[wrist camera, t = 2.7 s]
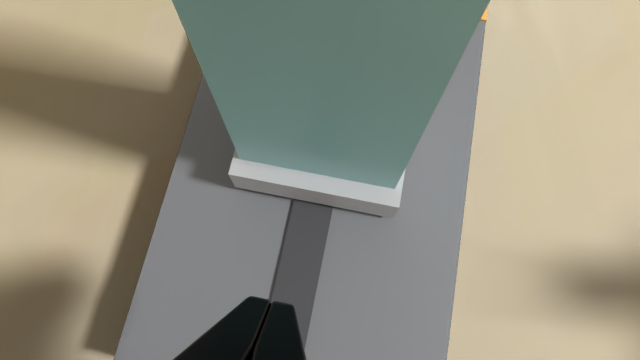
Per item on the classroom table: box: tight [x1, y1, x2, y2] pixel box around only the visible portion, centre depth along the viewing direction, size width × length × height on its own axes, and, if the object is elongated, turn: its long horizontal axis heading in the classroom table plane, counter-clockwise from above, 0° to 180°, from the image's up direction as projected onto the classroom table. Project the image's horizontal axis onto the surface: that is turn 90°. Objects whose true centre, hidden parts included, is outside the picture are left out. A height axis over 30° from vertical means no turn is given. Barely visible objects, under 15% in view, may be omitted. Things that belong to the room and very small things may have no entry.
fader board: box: [114, 6, 488, 360], centre depth 16 cm, size 16×9×2 cm, turn 169°
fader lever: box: [172, 0, 490, 218], centre depth 10 cm, size 4×5×11 cm
